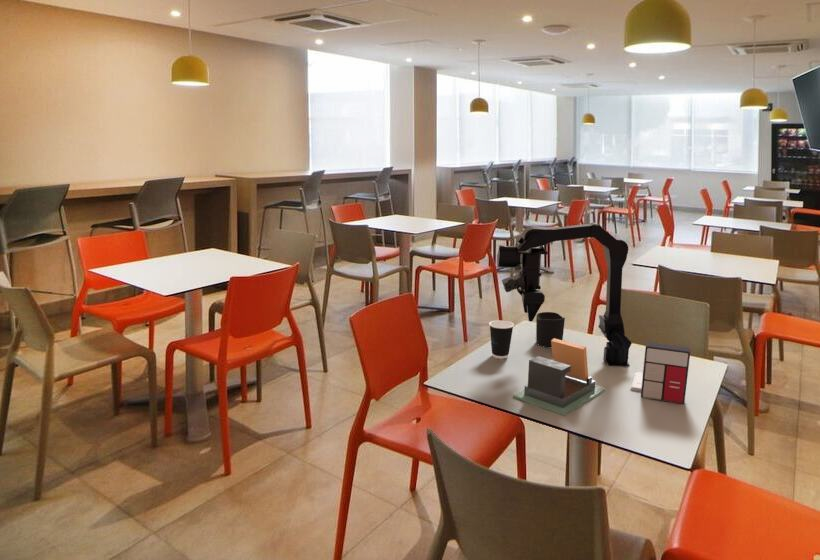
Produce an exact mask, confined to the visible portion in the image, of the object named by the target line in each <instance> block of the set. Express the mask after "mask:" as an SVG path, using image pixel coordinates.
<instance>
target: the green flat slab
mask: <svg viewBox="0 0 820 560" xmlns="http://www.w3.org/2000/svg"><path fill="white" fill-rule="evenodd" d="M604 392H606V388H604V387H601V386H598V385H595V390H593V391H591V392H589V393H588V394H586V395H584V396H583V397H581V398H579V399H578V400H576V401H574V402H572V403H571V404H569V405H567V406H566V407H564V408H561V407H558V406H555V405H552V404H549V403H546V402H544V401H541V400H538V399H535V398H532V397H529V396H526V395H524V389H522V390H521V391H519V392H517V393H514V394H513V395H512V398H514V399H517V400H519V401H522V402H526V403H527V404H531V405H534V406H536V407H538V408H539V407H540V408H542V409H546V410H548V411H551V412H554V413H556V414H559V415H562V416H565V417H566V416H567V415H568V414H570V413H571V412H573V411H575V410H576V409H578V408H579V407H582V405H585V404H586V403H588V402H589V400H590V401H591V400H593V399H595V398H596V397H598V396H599V395H601V394H602V393H604ZM597 395H598V396H597ZM594 397H595V398H594ZM584 403H585V404H584Z"/></svg>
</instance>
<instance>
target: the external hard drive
mask: <svg viewBox="0 0 820 560" xmlns="http://www.w3.org/2000/svg"><path fill="white" fill-rule="evenodd" d="M634 373H635V374H634V378H633V380H632V383H631V386H630V391H634V392H635V391H636V392H640V393H641V389H642V379H643V372H640V371H636V372H634Z"/></svg>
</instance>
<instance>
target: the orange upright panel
mask: <svg viewBox="0 0 820 560" xmlns="http://www.w3.org/2000/svg"><path fill="white" fill-rule="evenodd" d="M551 346H552V348H551V354H552V360H553V361H557V362H560V363H563V364H567V365H570V366H571V370H570V371H569V372H568V373H566V374H565V376H569V377H572V378H575V379H578V380H582V381H585V382H587V378H588V377H589V370H588V369H589V367H588V356H587V355H588V354H587V346H584V345H582V344H576V343H573V342H570V341H566V340H559V339H555V338H554V339H552V340H551Z"/></svg>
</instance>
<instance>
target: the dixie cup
mask: <svg viewBox="0 0 820 560" xmlns="http://www.w3.org/2000/svg"><path fill="white" fill-rule="evenodd" d="M488 325H489V332H490V343H491V354H492V357H493V358H494V357H495V358H494V359H497V358H499V360H504V359H503V358H505V359H507V358H509V357H508V356H509V354H510V348H511V341H512V335H513V329H514V327H515V324H514V323H513V322H512V321H510V320H509V321H508V320H498V319H497V320H492V321H489V323H488Z"/></svg>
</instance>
